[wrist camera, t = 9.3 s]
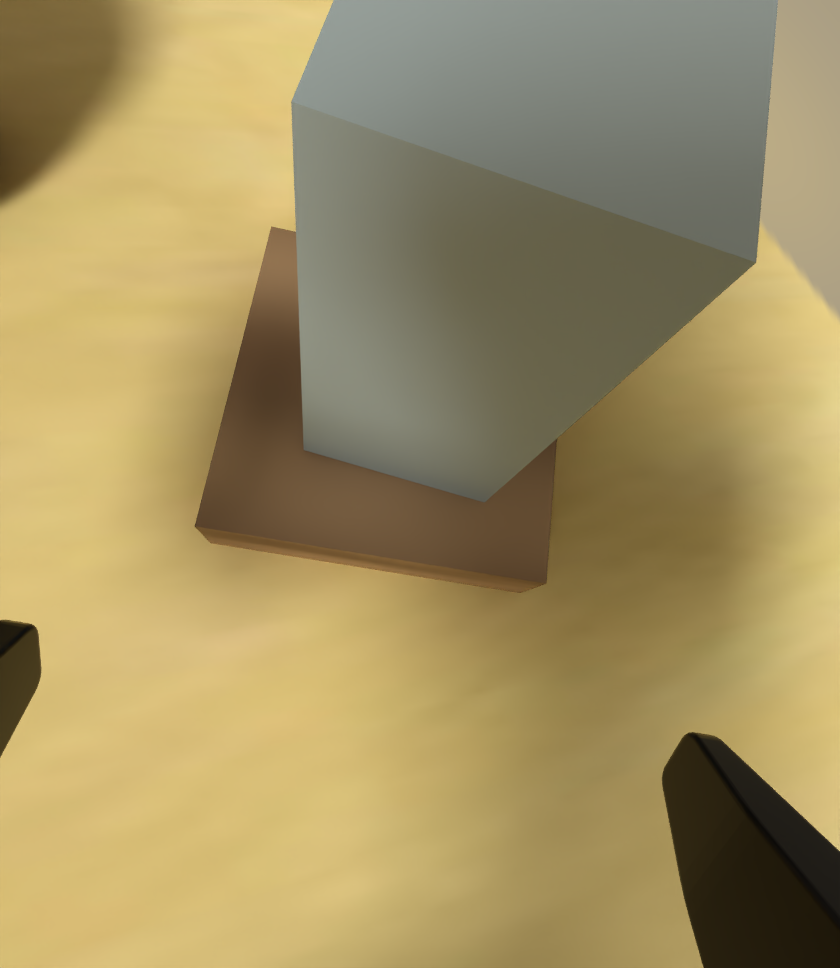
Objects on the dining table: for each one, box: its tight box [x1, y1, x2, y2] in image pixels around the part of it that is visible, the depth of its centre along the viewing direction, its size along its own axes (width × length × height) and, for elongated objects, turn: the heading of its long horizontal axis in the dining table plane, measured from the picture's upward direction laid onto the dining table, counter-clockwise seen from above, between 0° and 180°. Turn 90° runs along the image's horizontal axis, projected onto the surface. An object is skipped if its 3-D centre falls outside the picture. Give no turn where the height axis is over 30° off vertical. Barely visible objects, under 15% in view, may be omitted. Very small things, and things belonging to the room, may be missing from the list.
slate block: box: [291, 0, 778, 502], centre depth 13 cm, size 6×6×12 cm
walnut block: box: [195, 227, 557, 593], centre depth 20 cm, size 10×10×3 cm
